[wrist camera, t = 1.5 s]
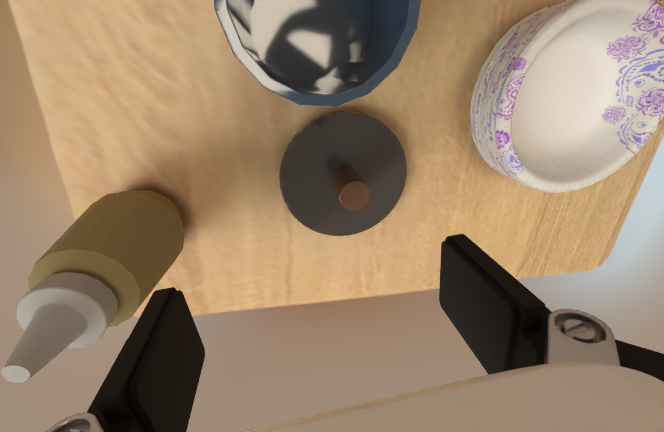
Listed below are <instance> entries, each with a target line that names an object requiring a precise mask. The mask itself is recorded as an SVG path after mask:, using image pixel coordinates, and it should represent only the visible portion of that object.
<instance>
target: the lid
mask: <svg viewBox="0 0 664 432" xmlns="http://www.w3.org/2000/svg"><path fill="white" fill-rule="evenodd" d="M405 180H406V161H405V155H404V152H403V149H402V147H401V145H400V142H399V141H398V139H397V138H396V136H395V135H394V133H393V132H392V131H391V130H390V129H389V128H388V127H387V126H386V125H384V124H383V123H382V122H380V121H378V120H377V119H375V118H373V117H371V116H368V115H366V114H362V113H358V112H351V111H342V112H334V113H330V114H326V115H323V116H321V117H319V118H316V119H314V120H313V121H311V122H310V123H308V124H307V125H305V126H304V127H303V128H302V129H301V130H299V132H298V133H297V134H296V135H295V136H294V137H293V139H292V140H291V141H290V143H289V144H288V146H287V148H286V150H285V152H284V155H283V158H282V161H281V166H280V188H281V192H282V196H283V199H284V201H285V203H286V205H287V207H288V209H289V210H290V212H291V213H292V214H293V216H294V217H295V218H296V219H297V220H298V221H300V222H301V223H302V224H303V225H305V226H306V227H308V228H310V229H312V230H314V231H316V232H319V233H322V234H326V235H333V236H344V235H351V234H356V233H359V232H362V231H365V230H367V229H369V228H371V227H373V226H374V225H376V224H377V223H379V222H380V221H381V220H383V219H384V218H385V217H386V216H387V215H388V214H389V213H390V212H391V210H392V209H393V208H394V206H395V205H396V203H397V202H398V200H399V198H400V196H401V194H402V191H403V188H404V184H405Z"/></svg>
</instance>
